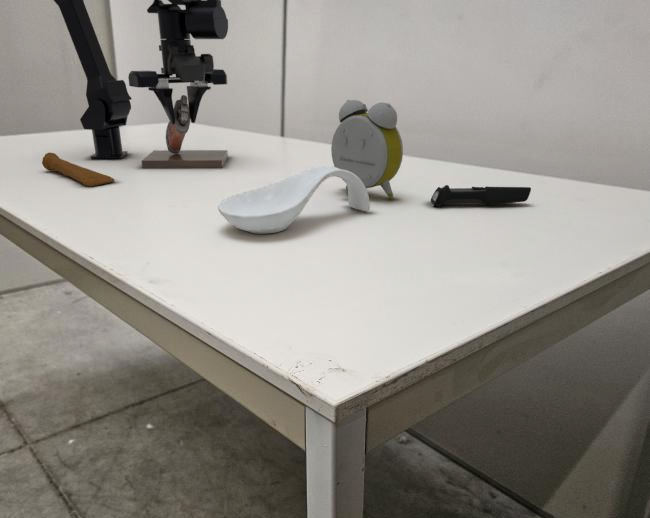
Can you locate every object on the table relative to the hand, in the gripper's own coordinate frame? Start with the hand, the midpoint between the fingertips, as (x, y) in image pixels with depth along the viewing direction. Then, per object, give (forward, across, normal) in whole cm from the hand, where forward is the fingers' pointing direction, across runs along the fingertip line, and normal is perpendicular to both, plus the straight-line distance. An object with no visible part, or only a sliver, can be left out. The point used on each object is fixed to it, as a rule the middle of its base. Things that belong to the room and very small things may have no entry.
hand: (183, 123), depth 126 cm
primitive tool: (+8, -23, -2) cm, 24 cm away
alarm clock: (+9, +12, -44) cm, 46 cm away
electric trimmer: (+9, +24, -59) cm, 64 cm away
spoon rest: (+9, -5, -51) cm, 52 cm away
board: (+8, 0, 0) cm, 8 cm away
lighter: (+4, 0, +6) cm, 7 cm away
